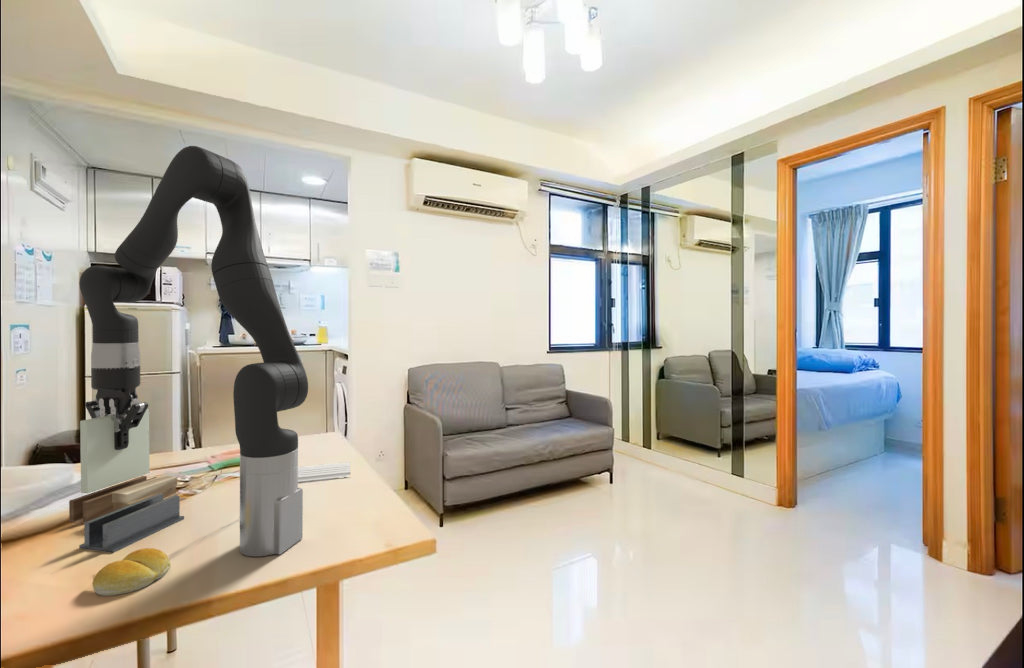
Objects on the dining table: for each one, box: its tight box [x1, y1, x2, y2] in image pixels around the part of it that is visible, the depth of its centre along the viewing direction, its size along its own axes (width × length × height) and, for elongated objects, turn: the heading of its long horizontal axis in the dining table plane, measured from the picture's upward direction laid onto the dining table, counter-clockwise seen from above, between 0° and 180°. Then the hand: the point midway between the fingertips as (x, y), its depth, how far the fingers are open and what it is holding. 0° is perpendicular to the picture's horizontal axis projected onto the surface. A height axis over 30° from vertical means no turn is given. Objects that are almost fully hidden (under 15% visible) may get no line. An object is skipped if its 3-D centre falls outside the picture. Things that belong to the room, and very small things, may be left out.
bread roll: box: [92, 547, 172, 597], centre depth 68 cm, size 8×9×4 cm
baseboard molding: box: [212, 461, 351, 484], centre depth 113 cm, size 31×3×12 cm
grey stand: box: [78, 494, 185, 554], centre depth 80 cm, size 7×13×6 cm, turn 170°
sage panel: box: [79, 408, 151, 494], centre depth 90 cm, size 2×12×14 cm, turn 170°
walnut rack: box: [68, 475, 187, 524], centre depth 90 cm, size 12×14×6 cm
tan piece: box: [112, 474, 178, 511], centre depth 89 cm, size 4×10×5 cm, turn 170°
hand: (117, 448), depth 90 cm, fingers closed on sage panel, 1 cm apart
